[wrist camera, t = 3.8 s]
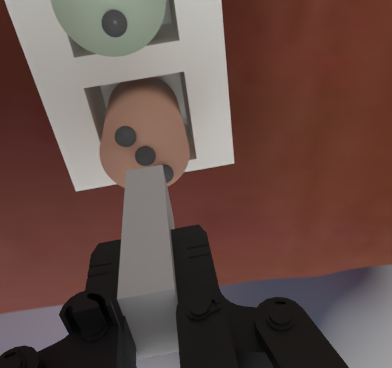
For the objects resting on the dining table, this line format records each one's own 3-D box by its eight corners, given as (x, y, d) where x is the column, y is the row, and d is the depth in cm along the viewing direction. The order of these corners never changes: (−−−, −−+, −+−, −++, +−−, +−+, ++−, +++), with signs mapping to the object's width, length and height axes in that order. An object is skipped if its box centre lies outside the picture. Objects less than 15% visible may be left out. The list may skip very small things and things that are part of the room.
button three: (99, 81, 22) (87, 123, 17) (172, 69, 22) (183, 107, 17) (117, 146, 24) (111, 200, 19) (183, 135, 24) (195, 186, 19)
